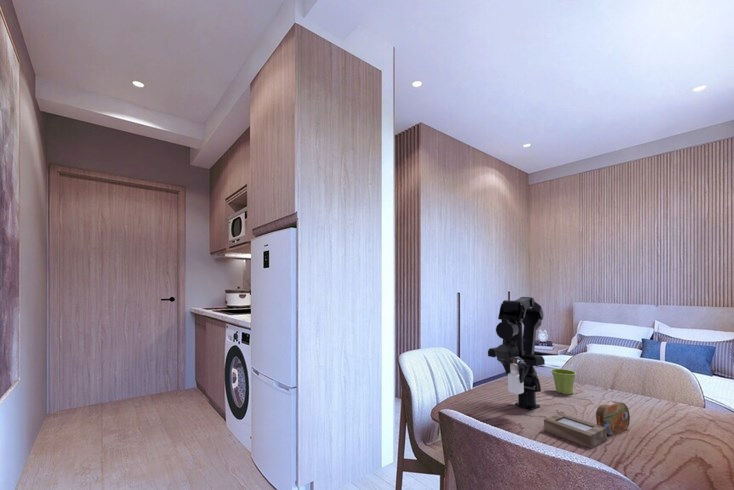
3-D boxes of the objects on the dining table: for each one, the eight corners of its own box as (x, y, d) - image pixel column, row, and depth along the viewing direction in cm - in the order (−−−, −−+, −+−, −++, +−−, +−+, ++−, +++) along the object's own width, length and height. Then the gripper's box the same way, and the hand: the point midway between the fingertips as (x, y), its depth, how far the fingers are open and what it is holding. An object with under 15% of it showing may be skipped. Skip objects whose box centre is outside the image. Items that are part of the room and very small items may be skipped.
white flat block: (564, 421, 108) (564, 418, 108) (593, 431, 101) (593, 427, 101) (556, 424, 105) (556, 421, 105) (585, 435, 98) (585, 431, 98)
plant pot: (556, 395, 140) (555, 373, 141) (548, 388, 149) (547, 368, 150) (581, 396, 138) (580, 375, 139) (571, 389, 147) (570, 369, 148)
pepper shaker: (507, 392, 118) (506, 364, 119) (514, 390, 120) (513, 362, 121) (517, 395, 115) (516, 366, 116) (524, 393, 117) (523, 365, 118)
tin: (605, 438, 101) (603, 408, 102) (594, 433, 104) (593, 405, 105) (631, 428, 108) (629, 401, 109) (620, 424, 111) (618, 398, 112)
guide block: (560, 423, 111) (560, 413, 111) (607, 439, 100) (606, 427, 100) (544, 430, 105) (543, 419, 106) (591, 448, 94) (590, 435, 95)
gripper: (477, 334, 123) (478, 378, 121) (525, 342, 107) (527, 392, 106) (496, 332, 129) (497, 374, 127) (544, 339, 113) (546, 387, 112)
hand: (515, 381), depth 118 cm, fingers closed on pepper shaker, 4 cm apart
